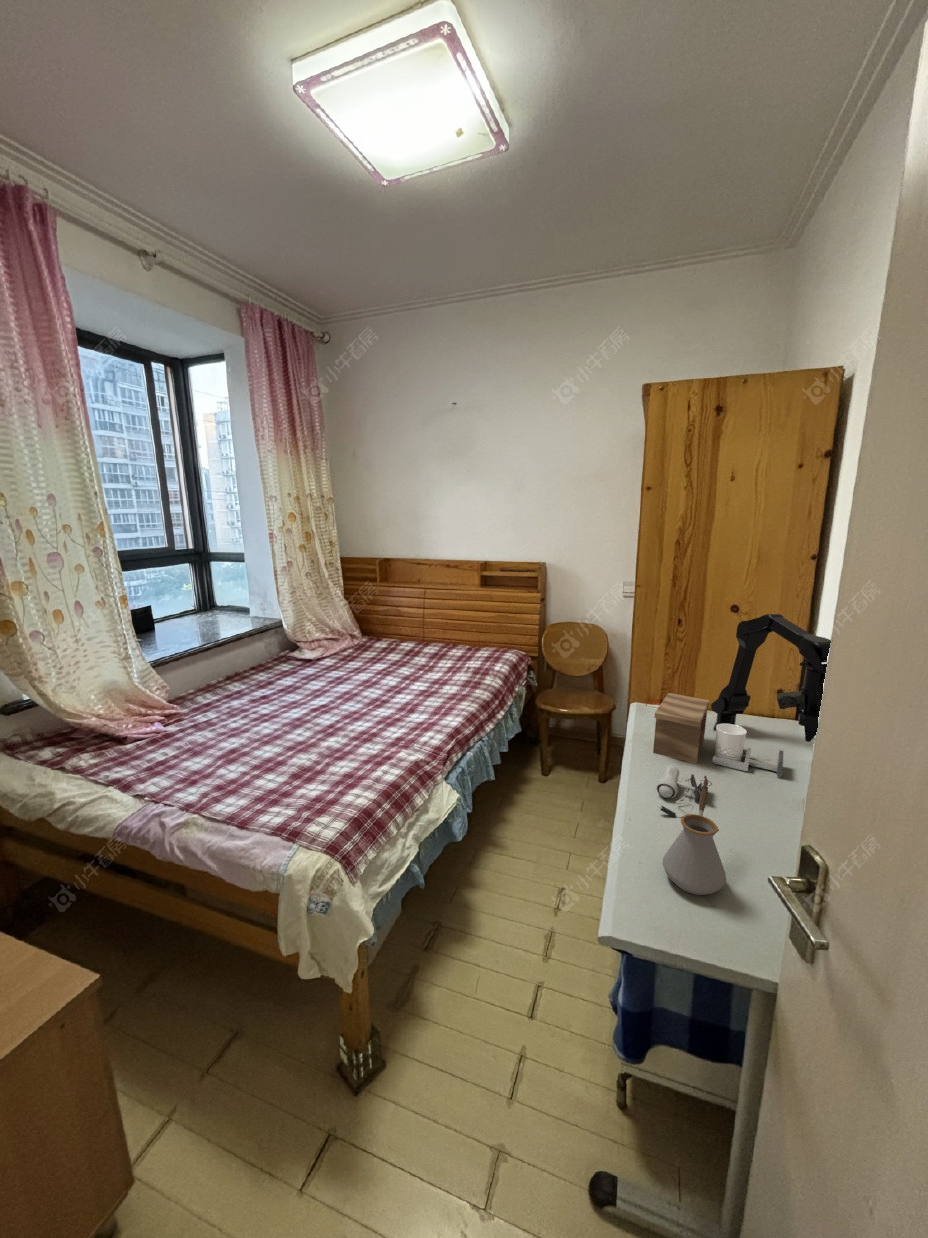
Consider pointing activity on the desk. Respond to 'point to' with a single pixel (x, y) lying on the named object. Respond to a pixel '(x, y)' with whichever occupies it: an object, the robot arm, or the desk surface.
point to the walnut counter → (680, 727)
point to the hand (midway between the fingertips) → (807, 740)
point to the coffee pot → (696, 854)
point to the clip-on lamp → (670, 789)
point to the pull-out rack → (750, 762)
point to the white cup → (730, 741)
